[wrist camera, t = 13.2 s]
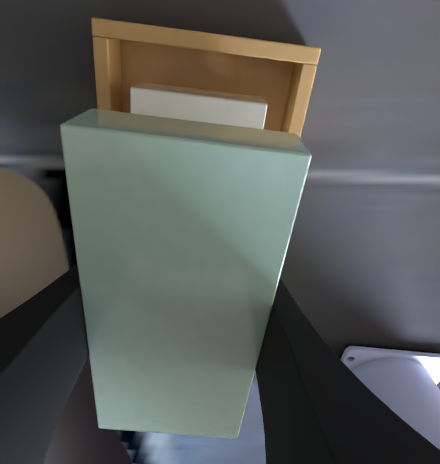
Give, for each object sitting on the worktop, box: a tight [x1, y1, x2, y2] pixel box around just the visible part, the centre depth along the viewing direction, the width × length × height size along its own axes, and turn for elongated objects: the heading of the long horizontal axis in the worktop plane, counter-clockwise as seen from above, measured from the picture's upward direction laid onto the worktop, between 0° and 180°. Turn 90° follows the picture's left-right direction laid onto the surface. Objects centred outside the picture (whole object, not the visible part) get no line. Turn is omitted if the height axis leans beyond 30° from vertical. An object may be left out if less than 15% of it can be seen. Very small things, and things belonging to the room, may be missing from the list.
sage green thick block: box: [60, 109, 312, 439], centre depth 11 cm, size 11×5×3 cm, turn 173°
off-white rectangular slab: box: [130, 82, 268, 129], centre depth 16 cm, size 11×5×3 cm, turn 173°
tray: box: [91, 17, 321, 138], centre depth 17 cm, size 15×9×2 cm, turn 173°
